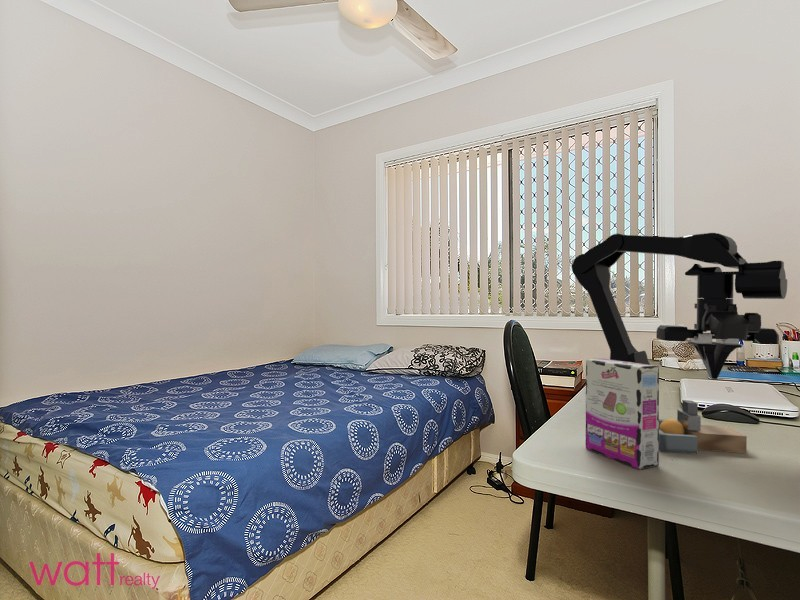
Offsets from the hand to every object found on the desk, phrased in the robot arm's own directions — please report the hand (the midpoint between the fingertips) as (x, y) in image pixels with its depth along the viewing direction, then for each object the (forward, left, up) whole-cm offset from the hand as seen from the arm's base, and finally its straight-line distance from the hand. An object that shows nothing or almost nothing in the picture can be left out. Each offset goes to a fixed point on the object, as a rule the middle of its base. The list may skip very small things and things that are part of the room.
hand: (713, 378), depth 84 cm
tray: (-10, -4, -12) cm, 16 cm away
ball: (-9, -4, -9) cm, 14 cm away
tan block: (-2, -4, -12) cm, 13 cm away
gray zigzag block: (-6, -4, -9) cm, 11 cm away
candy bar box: (-20, -14, -12) cm, 28 cm away
